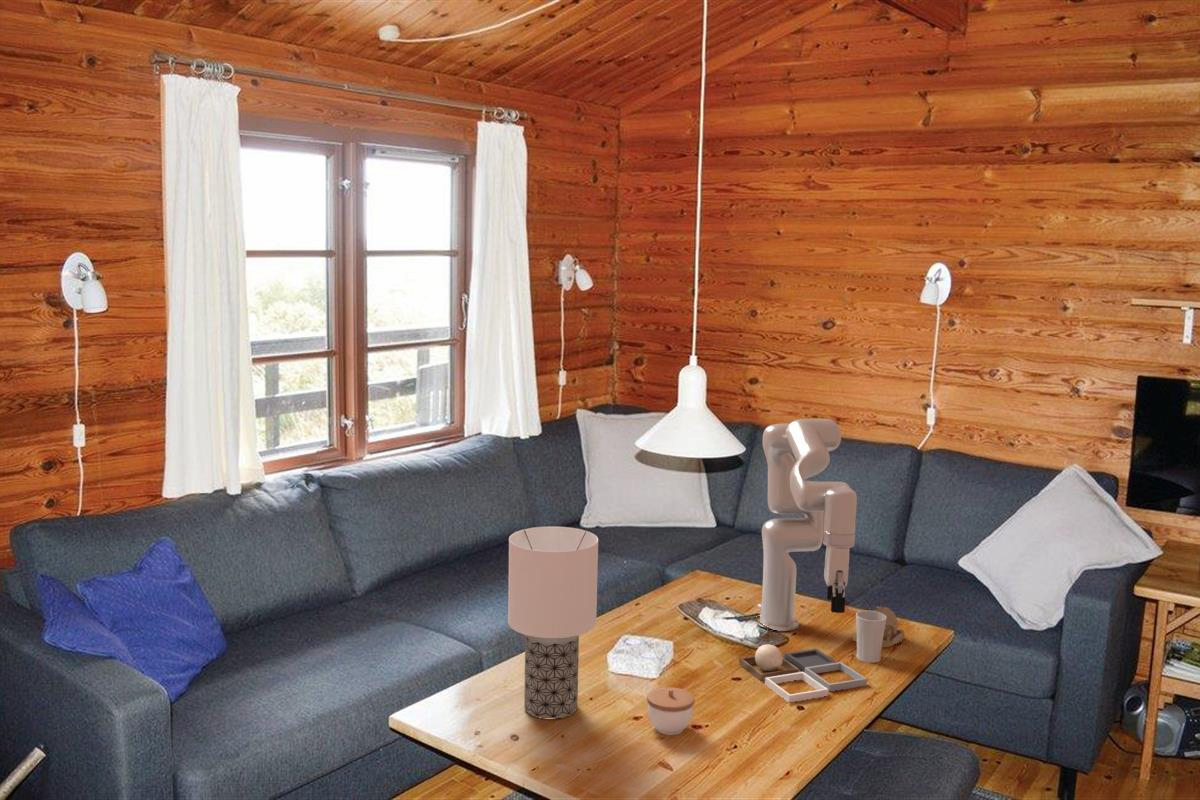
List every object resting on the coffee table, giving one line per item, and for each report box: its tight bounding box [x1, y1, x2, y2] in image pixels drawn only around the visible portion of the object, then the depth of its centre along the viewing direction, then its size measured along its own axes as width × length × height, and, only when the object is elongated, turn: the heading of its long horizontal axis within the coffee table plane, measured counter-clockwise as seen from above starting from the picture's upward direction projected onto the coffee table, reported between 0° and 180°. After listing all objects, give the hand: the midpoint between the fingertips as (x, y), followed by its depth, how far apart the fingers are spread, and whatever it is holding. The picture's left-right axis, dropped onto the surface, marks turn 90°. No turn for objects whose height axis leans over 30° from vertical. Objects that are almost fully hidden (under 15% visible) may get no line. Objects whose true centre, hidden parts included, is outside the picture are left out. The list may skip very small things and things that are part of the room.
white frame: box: [764, 671, 829, 704], centre depth 260 cm, size 11×11×2 cm
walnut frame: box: [738, 655, 800, 682], centre depth 272 cm, size 11×11×2 cm
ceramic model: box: [852, 605, 905, 648], centre depth 294 cm, size 14×11×10 cm
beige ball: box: [754, 643, 784, 672], centre depth 271 cm, size 7×7×7 cm
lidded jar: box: [646, 686, 695, 736], centre depth 237 cm, size 11×11×9 cm
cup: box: [855, 609, 886, 664], centre depth 280 cm, size 8×8×12 cm
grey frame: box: [804, 661, 868, 692], centre depth 267 cm, size 11×11×2 cm
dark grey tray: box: [783, 648, 839, 672], centre depth 277 cm, size 10×10×2 cm
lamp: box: [507, 526, 599, 719], centre depth 244 cm, size 21×21×42 cm
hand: (835, 605), depth 258 cm, fingers open, 9 cm apart
